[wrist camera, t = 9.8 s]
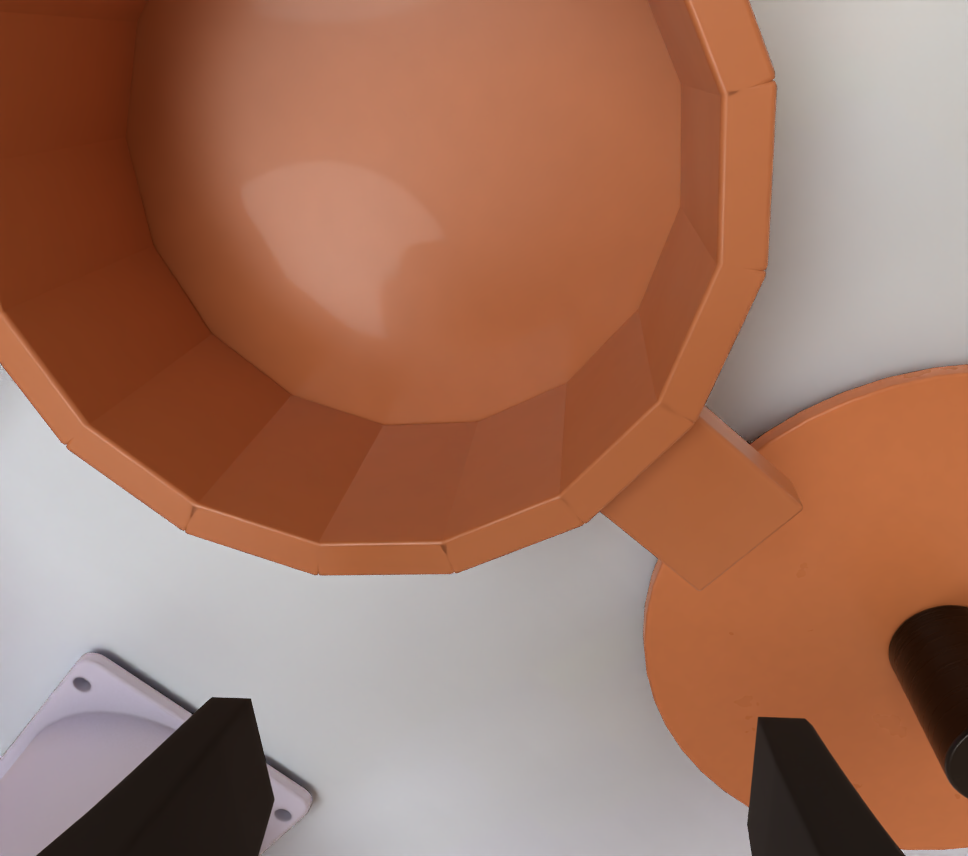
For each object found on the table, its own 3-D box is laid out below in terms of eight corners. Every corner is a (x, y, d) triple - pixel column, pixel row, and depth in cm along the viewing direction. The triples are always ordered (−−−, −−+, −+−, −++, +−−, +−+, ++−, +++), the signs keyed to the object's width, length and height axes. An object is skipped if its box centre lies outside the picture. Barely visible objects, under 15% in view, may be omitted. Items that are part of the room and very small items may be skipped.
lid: (882, 884, 23) (945, 1059, 19) (531, 617, 21) (517, 753, 17) (1379, 615, 18) (1609, 777, 14) (988, 215, 16) (1130, 271, 11)
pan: (531, 599, 20) (513, 768, 16) (-99, 117, 17) (-371, 141, 12) (950, 224, 16) (1115, 300, 11) (186, -547, 12) (-76, -939, 7)
